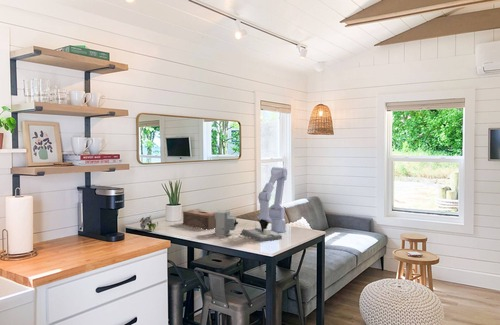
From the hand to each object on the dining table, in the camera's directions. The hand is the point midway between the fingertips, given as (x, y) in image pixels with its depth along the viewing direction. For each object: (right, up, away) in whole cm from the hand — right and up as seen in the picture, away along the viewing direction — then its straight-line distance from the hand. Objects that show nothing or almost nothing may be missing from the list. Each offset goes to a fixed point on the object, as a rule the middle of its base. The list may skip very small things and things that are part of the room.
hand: (263, 231), depth 249 cm
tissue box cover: (-43, -2, +31) cm, 53 cm away
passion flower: (-78, -2, +15) cm, 80 cm away
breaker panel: (-2, -4, +3) cm, 5 cm away
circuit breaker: (-24, -3, +6) cm, 25 cm away
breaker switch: (+2, -2, -3) cm, 4 cm away
